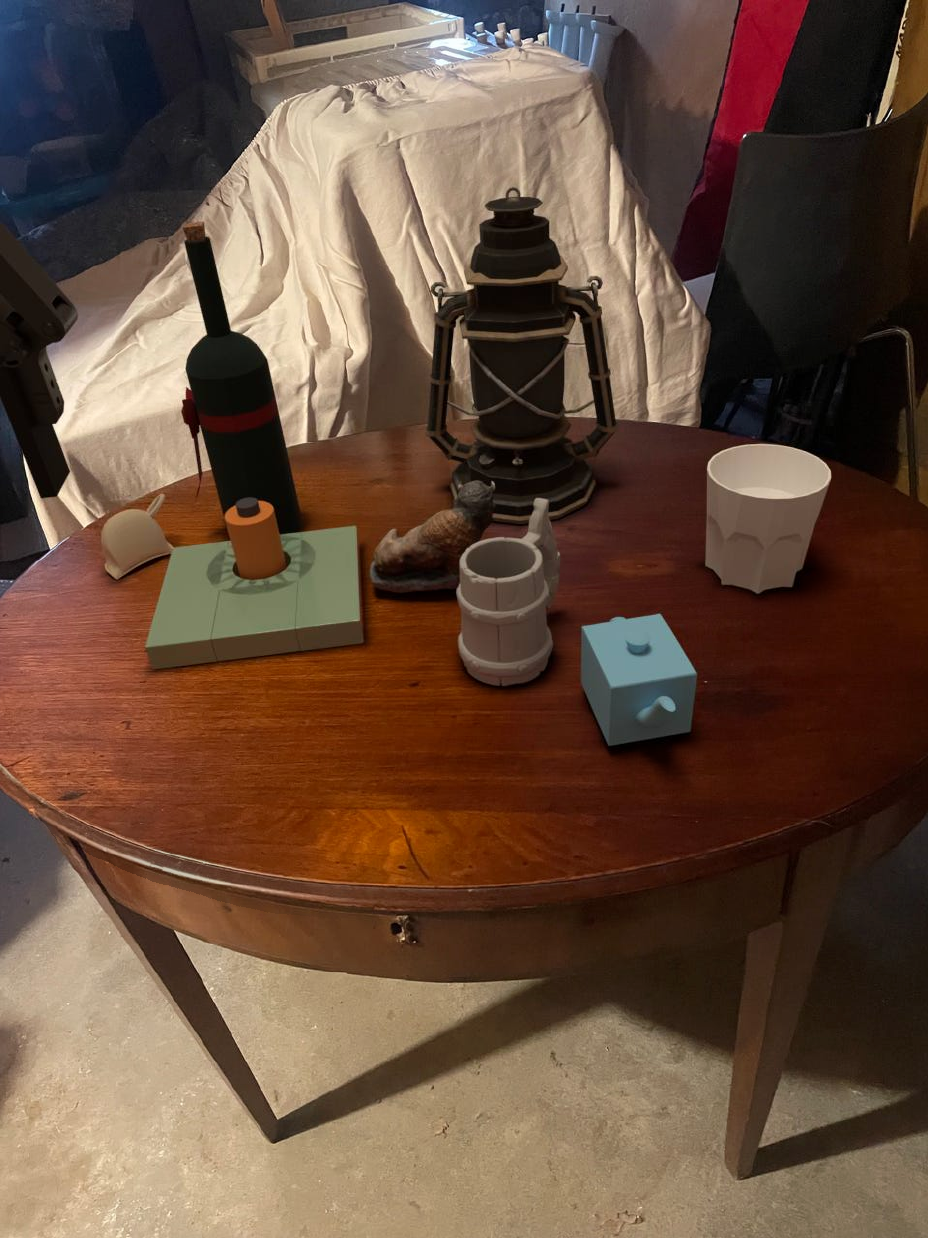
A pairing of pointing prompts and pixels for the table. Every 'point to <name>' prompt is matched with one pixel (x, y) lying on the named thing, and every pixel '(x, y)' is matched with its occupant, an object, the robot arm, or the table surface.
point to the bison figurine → (434, 544)
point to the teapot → (637, 679)
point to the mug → (509, 603)
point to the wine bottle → (234, 402)
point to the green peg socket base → (258, 602)
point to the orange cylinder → (255, 539)
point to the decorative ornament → (133, 539)
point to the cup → (762, 513)
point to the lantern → (520, 368)
